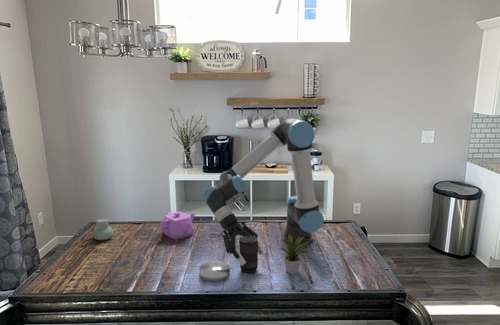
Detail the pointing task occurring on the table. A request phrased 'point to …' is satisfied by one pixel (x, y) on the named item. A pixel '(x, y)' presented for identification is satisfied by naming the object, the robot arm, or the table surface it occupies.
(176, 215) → the teakettle
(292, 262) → the house plant
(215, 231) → the table surface
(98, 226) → the air freshener
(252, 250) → the camera lens
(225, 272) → the cap plate
